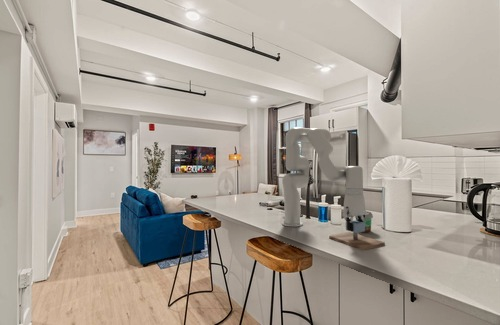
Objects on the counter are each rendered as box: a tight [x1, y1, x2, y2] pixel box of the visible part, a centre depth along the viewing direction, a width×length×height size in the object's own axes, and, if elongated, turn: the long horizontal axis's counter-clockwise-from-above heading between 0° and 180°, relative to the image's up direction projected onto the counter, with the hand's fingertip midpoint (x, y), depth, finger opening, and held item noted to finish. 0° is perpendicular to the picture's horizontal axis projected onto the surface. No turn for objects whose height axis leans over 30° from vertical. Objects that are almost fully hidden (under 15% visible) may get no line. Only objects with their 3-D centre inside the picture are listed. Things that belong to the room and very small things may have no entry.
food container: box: [355, 211, 374, 234], centre depth 133 cm, size 12×6×10 cm, turn 131°
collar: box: [345, 219, 365, 234], centre depth 117 cm, size 6×6×4 cm
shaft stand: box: [328, 231, 386, 251], centre depth 117 cm, size 20×14×7 cm
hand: (355, 229), depth 117 cm, fingers closed on collar, 6 cm apart
